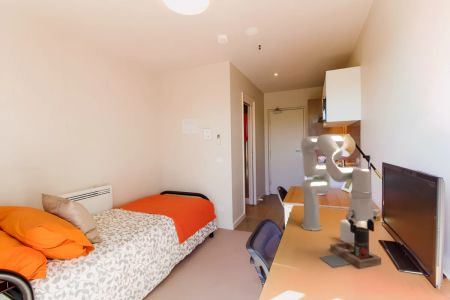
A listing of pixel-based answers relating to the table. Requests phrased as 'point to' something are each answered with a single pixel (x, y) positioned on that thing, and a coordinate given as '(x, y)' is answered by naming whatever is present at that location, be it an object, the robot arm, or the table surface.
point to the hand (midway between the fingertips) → (362, 231)
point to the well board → (350, 257)
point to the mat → (334, 261)
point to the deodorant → (361, 243)
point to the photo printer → (346, 232)
